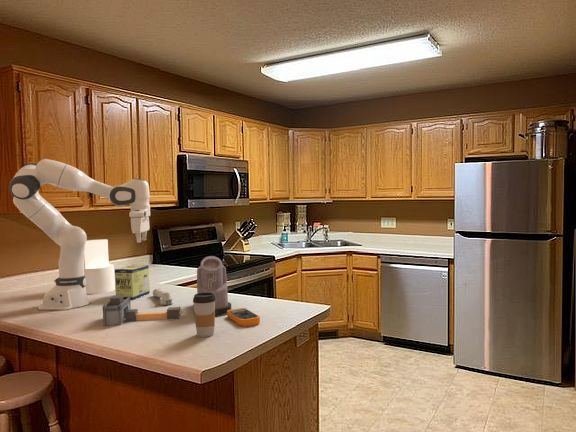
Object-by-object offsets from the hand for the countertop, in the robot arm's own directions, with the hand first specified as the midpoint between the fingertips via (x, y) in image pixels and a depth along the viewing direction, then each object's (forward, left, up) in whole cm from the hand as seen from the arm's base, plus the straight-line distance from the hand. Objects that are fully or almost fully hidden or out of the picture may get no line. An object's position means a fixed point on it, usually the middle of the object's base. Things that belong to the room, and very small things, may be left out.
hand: (141, 241), depth 216 cm
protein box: (-10, +19, -31) cm, 38 cm away
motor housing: (-5, -27, -31) cm, 41 cm away
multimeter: (+49, -36, -31) cm, 68 cm away
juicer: (+34, -14, -31) cm, 48 cm away
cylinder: (-34, +38, -31) cm, 60 cm away
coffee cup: (+35, -53, -31) cm, 70 cm away
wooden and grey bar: (+10, -27, -31) cm, 42 cm away
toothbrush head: (+7, +7, -31) cm, 33 cm away
